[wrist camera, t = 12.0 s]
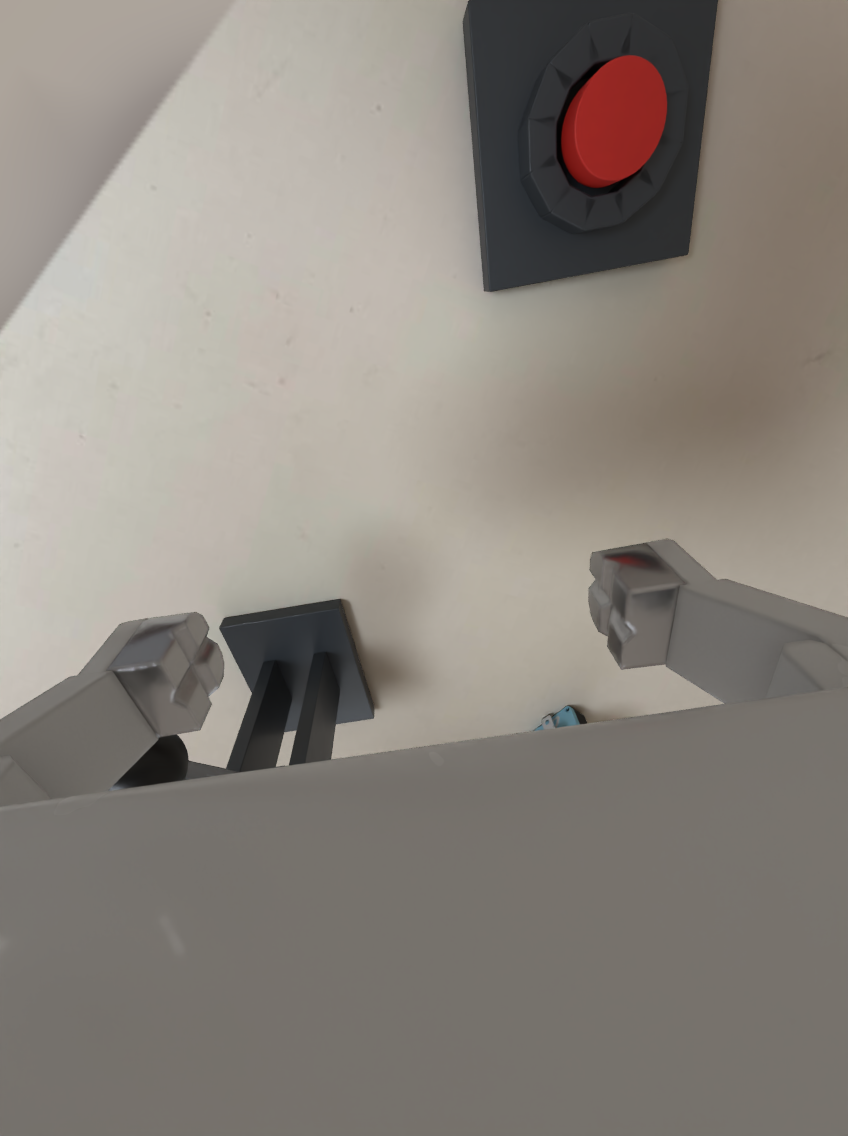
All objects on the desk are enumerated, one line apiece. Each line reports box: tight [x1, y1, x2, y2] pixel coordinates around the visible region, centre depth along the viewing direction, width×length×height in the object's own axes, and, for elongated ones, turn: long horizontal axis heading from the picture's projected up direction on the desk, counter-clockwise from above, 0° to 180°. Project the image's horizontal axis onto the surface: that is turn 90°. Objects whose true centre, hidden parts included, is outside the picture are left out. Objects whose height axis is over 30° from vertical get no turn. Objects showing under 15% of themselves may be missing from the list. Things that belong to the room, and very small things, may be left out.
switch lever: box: [108, 734, 283, 791], centre depth 23 cm, size 16×3×3 cm, turn 9°
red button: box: [561, 55, 667, 188], centre depth 19 cm, size 4×4×2 cm
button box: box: [463, 0, 718, 292], centre depth 21 cm, size 10×10×4 cm
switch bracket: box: [219, 599, 374, 772], centre depth 33 cm, size 12×9×13 cm
